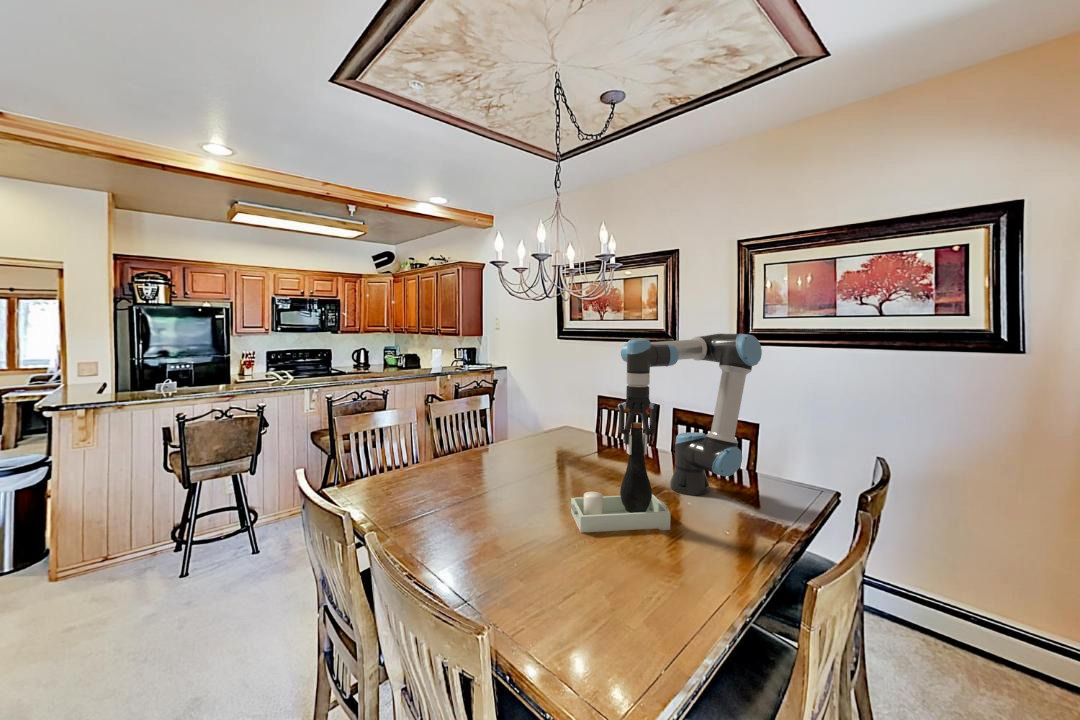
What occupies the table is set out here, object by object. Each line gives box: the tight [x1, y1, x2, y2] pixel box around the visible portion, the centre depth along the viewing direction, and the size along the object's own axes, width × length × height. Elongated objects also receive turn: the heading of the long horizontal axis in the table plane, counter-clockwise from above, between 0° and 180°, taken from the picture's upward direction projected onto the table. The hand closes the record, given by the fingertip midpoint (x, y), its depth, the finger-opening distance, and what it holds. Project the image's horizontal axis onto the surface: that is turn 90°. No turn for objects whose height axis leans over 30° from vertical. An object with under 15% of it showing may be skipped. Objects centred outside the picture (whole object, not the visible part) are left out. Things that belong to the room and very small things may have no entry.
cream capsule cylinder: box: [583, 491, 604, 515], centre depth 154 cm, size 6×6×9 cm
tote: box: [570, 493, 672, 534], centre depth 156 cm, size 32×16×6 cm, turn 97°
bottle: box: [619, 421, 653, 513], centre depth 155 cm, size 11×11×30 cm
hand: (636, 453), depth 155 cm, fingers closed on bottle, 5 cm apart
